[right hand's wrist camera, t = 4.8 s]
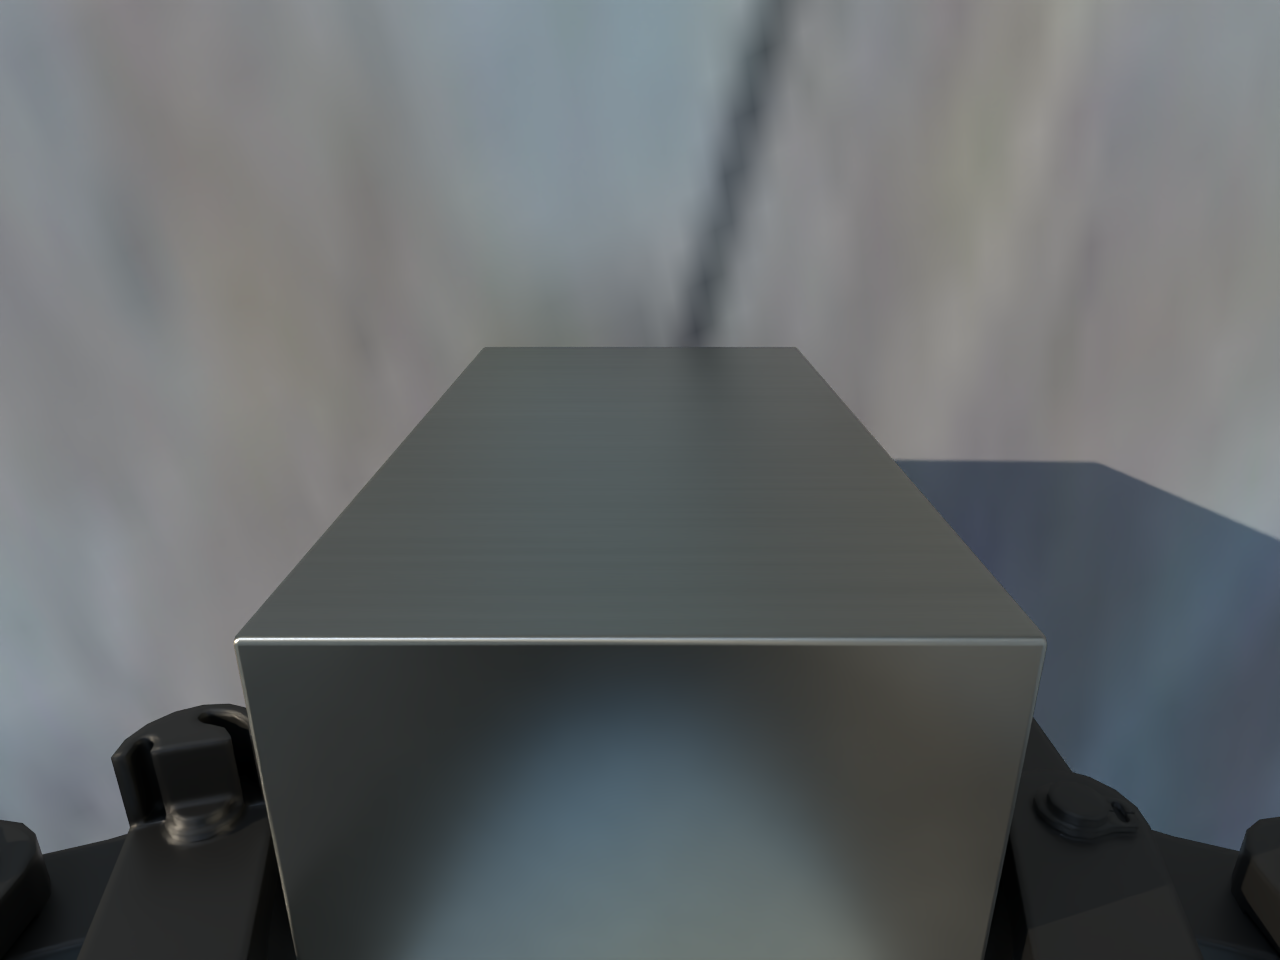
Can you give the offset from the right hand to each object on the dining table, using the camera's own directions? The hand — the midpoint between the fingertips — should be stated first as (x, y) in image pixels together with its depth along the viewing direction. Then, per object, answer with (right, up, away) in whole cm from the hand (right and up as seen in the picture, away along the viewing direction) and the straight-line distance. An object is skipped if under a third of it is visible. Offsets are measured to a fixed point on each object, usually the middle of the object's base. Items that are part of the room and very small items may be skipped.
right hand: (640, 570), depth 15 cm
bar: (0, -8, +4) cm, 8 cm away
